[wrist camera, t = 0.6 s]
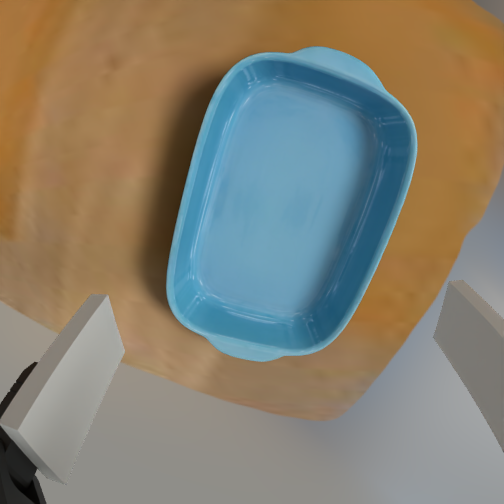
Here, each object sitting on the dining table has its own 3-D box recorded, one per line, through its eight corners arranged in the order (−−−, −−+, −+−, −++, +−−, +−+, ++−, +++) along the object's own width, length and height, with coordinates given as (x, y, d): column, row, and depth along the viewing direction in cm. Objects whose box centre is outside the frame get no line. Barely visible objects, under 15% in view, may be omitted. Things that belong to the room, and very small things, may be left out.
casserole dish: (314, 345, 46) (322, 378, 39) (167, 309, 44) (154, 340, 37) (410, 101, 32) (439, 98, 26) (237, 37, 30) (233, 18, 24)
